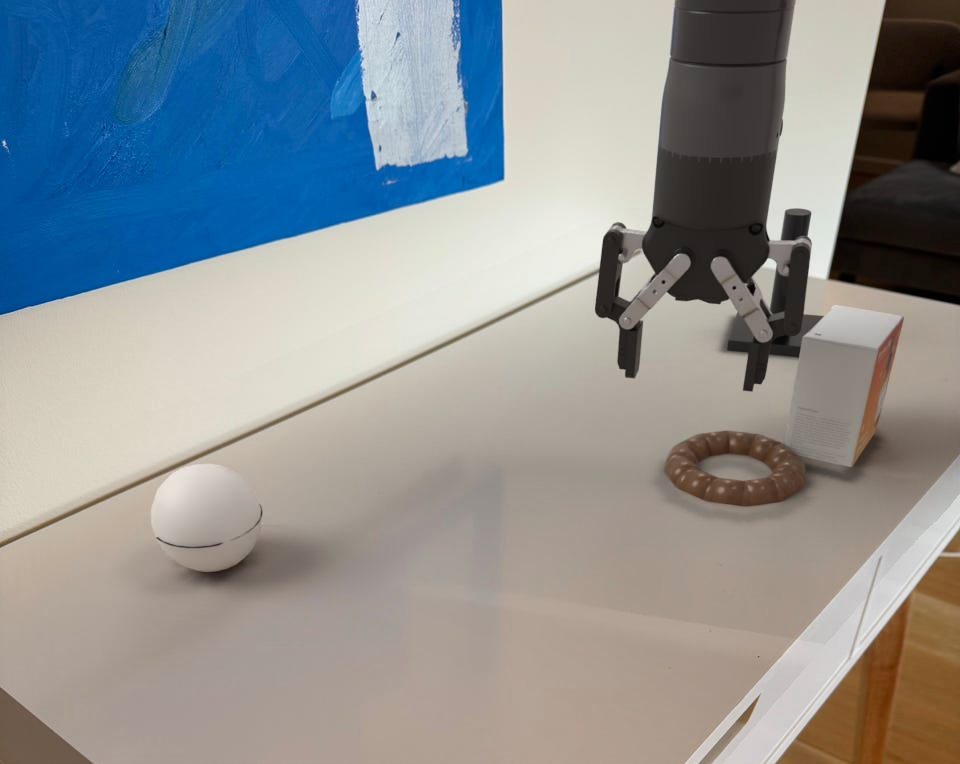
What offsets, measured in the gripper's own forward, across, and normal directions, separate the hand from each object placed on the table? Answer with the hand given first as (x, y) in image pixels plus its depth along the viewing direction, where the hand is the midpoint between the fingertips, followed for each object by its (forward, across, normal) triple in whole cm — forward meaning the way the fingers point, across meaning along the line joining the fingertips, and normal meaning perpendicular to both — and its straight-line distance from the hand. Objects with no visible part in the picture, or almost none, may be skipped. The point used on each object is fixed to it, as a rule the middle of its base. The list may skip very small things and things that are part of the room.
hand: (689, 380), depth 74 cm
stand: (+8, +5, +31) cm, 33 cm away
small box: (+8, +11, +8) cm, 16 cm away
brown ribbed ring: (+7, +4, 0) cm, 8 cm away
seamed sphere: (+8, -28, -21) cm, 36 cm away
